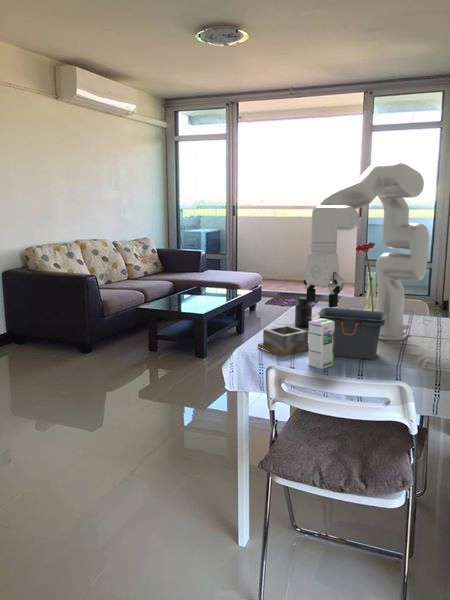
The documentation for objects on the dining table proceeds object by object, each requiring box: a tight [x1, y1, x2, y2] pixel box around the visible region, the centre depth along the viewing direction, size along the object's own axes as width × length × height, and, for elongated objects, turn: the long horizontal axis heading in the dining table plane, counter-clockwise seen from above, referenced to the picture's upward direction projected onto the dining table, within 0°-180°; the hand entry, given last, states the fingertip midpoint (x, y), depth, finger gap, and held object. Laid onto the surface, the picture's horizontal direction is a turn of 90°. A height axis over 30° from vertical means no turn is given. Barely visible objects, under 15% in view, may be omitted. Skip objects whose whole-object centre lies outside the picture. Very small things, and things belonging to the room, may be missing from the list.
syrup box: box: [308, 318, 335, 370], centre depth 155 cm, size 6×6×14 cm
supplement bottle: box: [294, 296, 313, 329], centre depth 203 cm, size 7×7×12 cm
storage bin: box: [317, 307, 386, 360], centre depth 165 cm, size 21×16×14 cm
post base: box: [257, 324, 309, 357], centre depth 174 cm, size 15×12×6 cm
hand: (321, 304), depth 152 cm, fingers open, 9 cm apart
